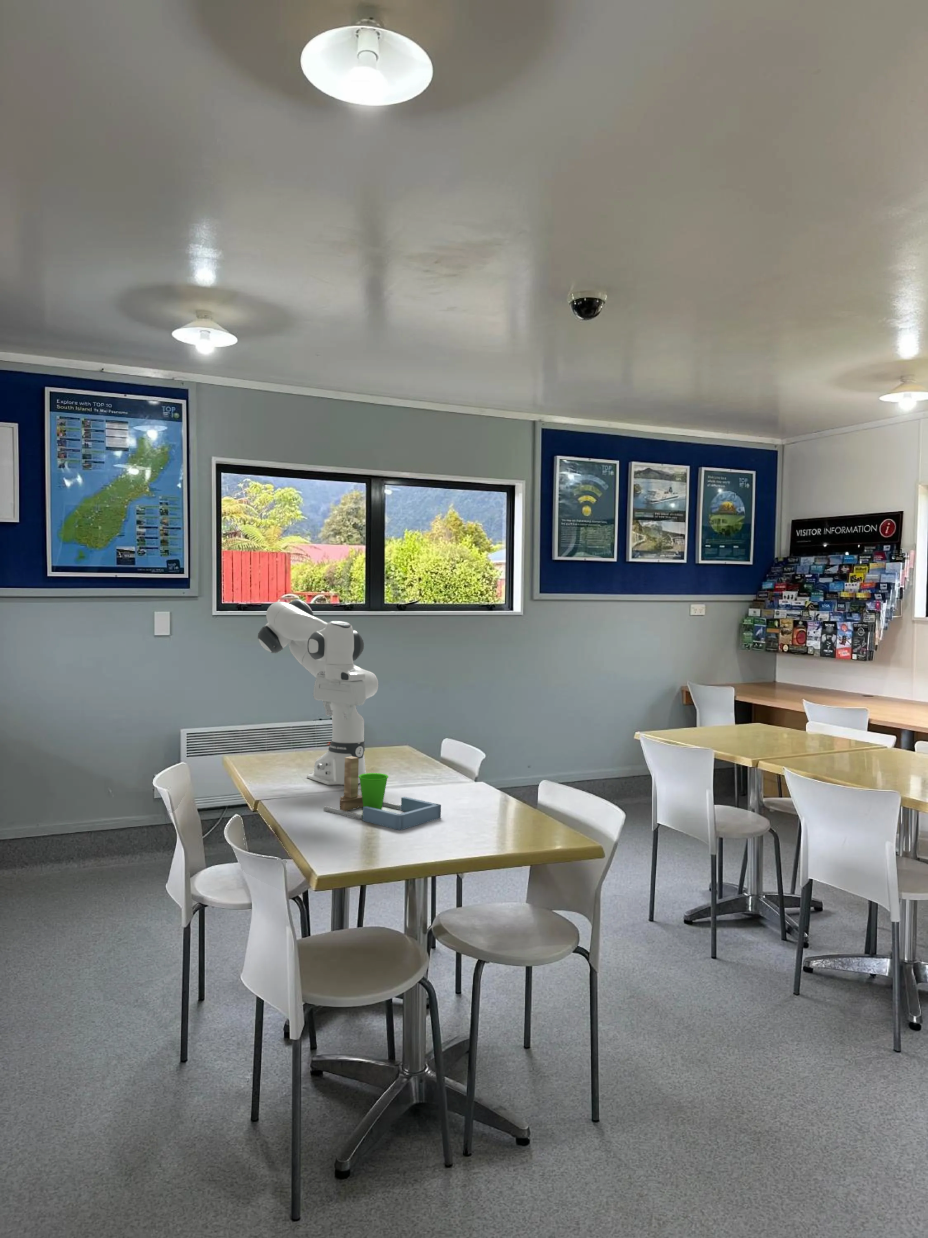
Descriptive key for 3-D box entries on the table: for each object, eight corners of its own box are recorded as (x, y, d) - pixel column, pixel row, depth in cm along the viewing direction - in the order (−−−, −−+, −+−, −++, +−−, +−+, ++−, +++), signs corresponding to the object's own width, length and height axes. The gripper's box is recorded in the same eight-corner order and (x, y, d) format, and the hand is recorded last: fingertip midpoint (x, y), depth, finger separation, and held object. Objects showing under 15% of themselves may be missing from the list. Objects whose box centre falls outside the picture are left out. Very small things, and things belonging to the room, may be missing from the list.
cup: (352, 814, 250) (353, 777, 250) (366, 807, 259) (366, 772, 259) (379, 817, 247) (380, 780, 247) (392, 810, 256) (393, 774, 255)
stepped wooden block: (332, 808, 255) (334, 759, 255) (360, 801, 264) (362, 754, 264) (344, 811, 252) (345, 761, 252) (372, 804, 261) (373, 756, 261)
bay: (362, 820, 243) (362, 807, 243) (404, 809, 257) (404, 796, 257) (399, 830, 234) (399, 816, 234) (440, 818, 248) (440, 804, 248)
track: (323, 810, 253) (323, 806, 253) (364, 800, 267) (364, 797, 267) (361, 820, 244) (361, 816, 244) (401, 809, 257) (402, 805, 257)
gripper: (309, 671, 266) (308, 714, 266) (354, 676, 253) (353, 721, 254) (324, 670, 271) (323, 712, 271) (369, 675, 258) (368, 719, 259)
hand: (338, 717), depth 262 cm, fingers open, 7 cm apart
